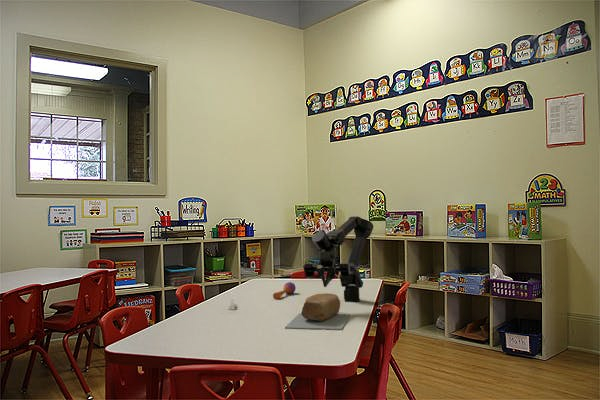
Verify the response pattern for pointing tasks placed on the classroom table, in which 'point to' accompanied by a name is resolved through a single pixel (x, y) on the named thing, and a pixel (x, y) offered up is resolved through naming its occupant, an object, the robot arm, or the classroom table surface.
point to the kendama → (285, 290)
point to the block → (321, 307)
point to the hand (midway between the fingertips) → (324, 286)
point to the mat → (319, 323)
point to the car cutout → (232, 305)
